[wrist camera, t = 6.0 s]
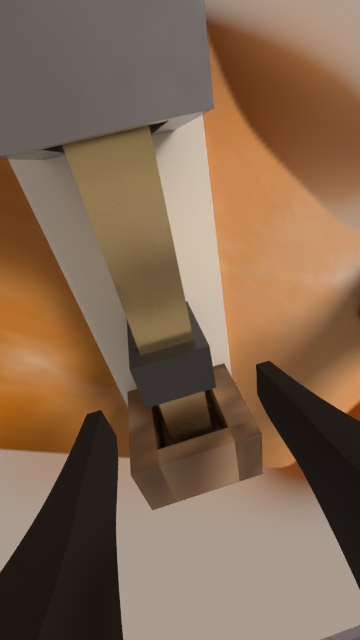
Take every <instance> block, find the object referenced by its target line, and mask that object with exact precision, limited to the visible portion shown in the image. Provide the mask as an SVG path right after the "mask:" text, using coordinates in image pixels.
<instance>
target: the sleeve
mask: <svg viewBox="0 0 360 640" xmlns="http://www.w3.org/2000/svg"><path fill="white" fill-rule="evenodd" d="M212 109H214V104H213V93H212V82H211V71H210V60H209V49H208V38H207V27H206V16H205V5H204V0H0V159H16V160H45V159H50V158H54V157H58V156H63V155H66V154H65V152H64V149H63V146H62V145H63V144H68V143H72V142H76V141H81V140H85V139H90V138H94V137H99V136H103V135H108V134H112V133H117V132H121V131H125V130H130V129H134V128H139V127H143V126H148V125H149V127H150V132H151V135H155V134H159V133H164V132H168V131H173V130H176V129H178V128H179V127H181V126H183V125H185V124H187V123H189V122H190V121H192V120H194V119H196V118H198V117H199V116H201V115H203V114H205V113H207V112H209V111H210V110H212Z"/></svg>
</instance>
